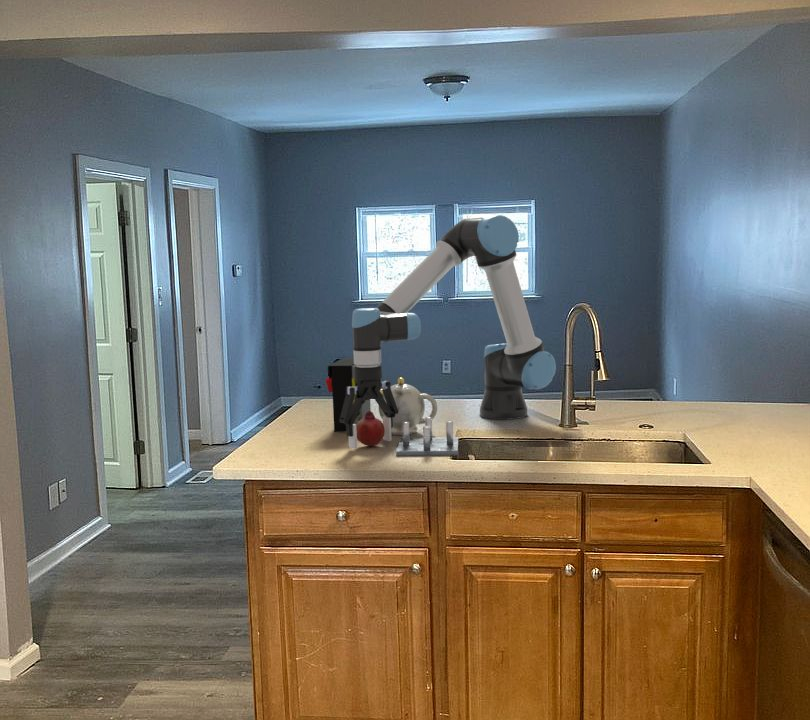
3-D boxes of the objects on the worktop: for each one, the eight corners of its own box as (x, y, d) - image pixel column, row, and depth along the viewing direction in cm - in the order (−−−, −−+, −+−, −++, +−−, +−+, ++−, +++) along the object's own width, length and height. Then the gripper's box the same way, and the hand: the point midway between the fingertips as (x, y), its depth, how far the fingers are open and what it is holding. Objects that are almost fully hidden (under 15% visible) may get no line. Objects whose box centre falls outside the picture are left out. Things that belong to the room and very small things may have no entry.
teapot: (372, 437, 244) (370, 381, 242) (382, 427, 257) (380, 374, 255) (434, 438, 240) (432, 381, 238) (441, 428, 254) (439, 374, 252)
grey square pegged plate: (458, 441, 236) (457, 415, 235) (457, 455, 220) (456, 428, 219) (401, 442, 237) (400, 416, 236) (396, 455, 221) (395, 428, 220)
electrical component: (361, 432, 251) (358, 365, 249) (328, 431, 254) (325, 365, 251) (374, 420, 269) (372, 357, 266) (343, 419, 271) (341, 358, 268)
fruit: (388, 443, 236) (387, 408, 234) (381, 450, 228) (379, 414, 227) (360, 442, 237) (359, 407, 236) (352, 449, 230) (351, 413, 228)
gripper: (392, 359, 240) (394, 434, 243) (323, 369, 225) (327, 449, 228) (409, 361, 235) (412, 438, 237) (340, 371, 219) (343, 453, 222)
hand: (370, 443), depth 233 cm, fingers open, 11 cm apart
